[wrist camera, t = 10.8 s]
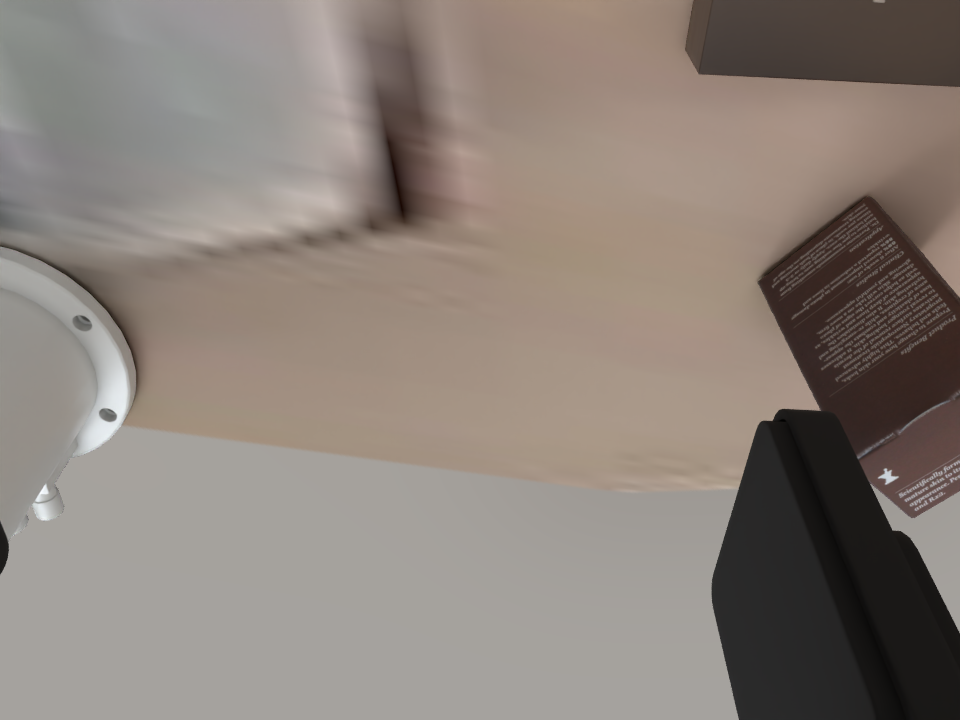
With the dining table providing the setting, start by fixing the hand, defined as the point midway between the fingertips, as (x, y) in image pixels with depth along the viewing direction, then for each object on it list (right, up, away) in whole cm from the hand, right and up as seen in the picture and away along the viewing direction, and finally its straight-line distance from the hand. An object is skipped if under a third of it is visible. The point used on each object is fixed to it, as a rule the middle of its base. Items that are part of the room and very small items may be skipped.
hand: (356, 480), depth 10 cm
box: (+17, +6, +28) cm, 33 cm away
